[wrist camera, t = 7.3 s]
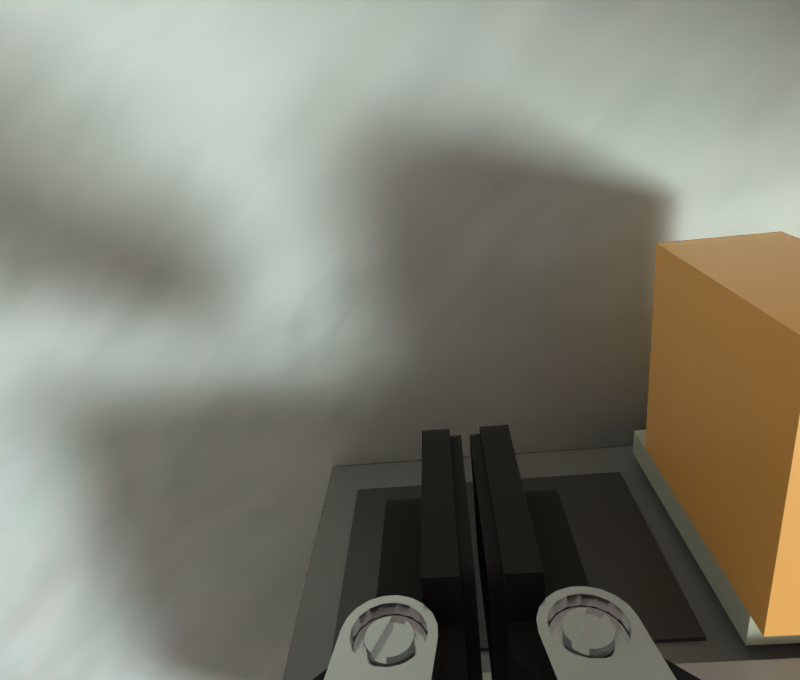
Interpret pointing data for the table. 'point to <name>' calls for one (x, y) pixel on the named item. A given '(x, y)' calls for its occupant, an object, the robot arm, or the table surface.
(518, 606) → the robot arm
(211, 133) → the table surface
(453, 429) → the table surface
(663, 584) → the box
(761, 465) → the orange block handle
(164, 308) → the table surface
